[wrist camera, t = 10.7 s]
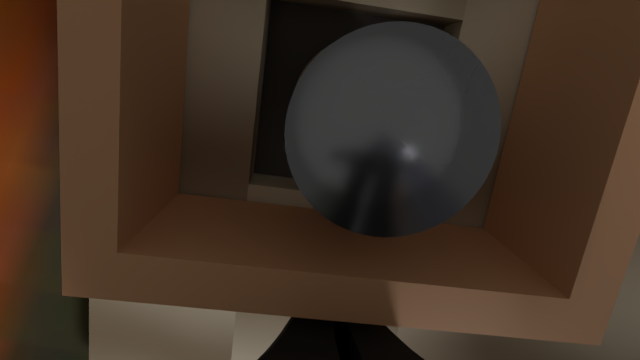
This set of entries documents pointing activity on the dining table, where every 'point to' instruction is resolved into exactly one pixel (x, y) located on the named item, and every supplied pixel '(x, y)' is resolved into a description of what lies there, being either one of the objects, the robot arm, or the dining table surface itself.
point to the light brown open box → (330, 239)
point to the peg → (392, 129)
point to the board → (279, 185)
